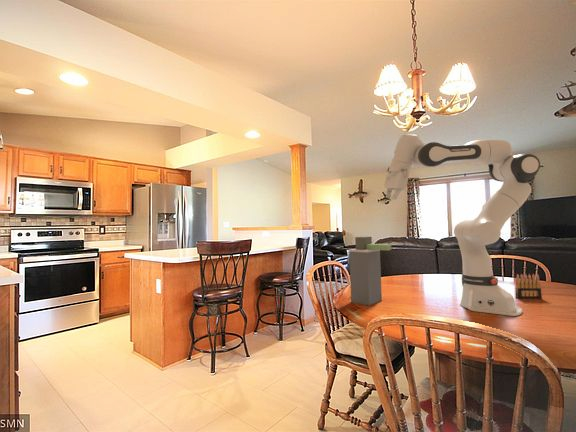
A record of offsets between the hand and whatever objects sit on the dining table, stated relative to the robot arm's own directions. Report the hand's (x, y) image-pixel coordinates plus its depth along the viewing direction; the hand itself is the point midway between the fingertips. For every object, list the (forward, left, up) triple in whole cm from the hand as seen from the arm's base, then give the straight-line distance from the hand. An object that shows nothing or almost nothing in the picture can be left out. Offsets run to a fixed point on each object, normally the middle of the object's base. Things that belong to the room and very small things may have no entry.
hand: (390, 198), depth 136 cm
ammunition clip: (-41, -56, -50) cm, 86 cm away
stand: (+15, 0, -50) cm, 52 cm away
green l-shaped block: (+10, 0, -24) cm, 26 cm away
